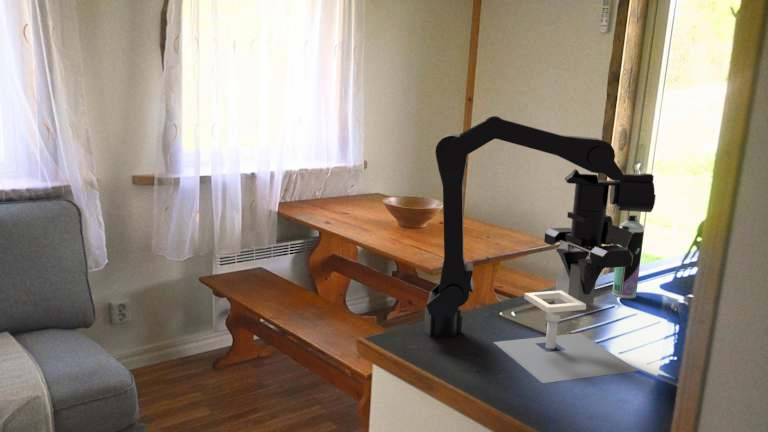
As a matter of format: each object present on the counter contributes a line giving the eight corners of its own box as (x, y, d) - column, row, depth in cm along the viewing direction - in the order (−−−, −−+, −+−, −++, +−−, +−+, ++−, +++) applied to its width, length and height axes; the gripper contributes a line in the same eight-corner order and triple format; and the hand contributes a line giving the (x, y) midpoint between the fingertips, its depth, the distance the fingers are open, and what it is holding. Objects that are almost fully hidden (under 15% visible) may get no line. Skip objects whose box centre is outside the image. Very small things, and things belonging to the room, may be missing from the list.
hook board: (541, 391, 99) (545, 347, 98) (492, 349, 115) (495, 311, 113) (638, 378, 105) (643, 337, 103) (578, 340, 121) (582, 303, 119)
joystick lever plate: (547, 312, 107) (550, 274, 105) (524, 298, 114) (527, 262, 113) (601, 308, 110) (605, 270, 109) (575, 294, 118) (579, 259, 116)
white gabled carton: (554, 303, 142) (558, 262, 140) (564, 296, 147) (568, 256, 145) (569, 307, 140) (573, 265, 138) (579, 299, 145) (583, 259, 143)
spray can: (633, 300, 146) (643, 218, 142) (610, 295, 149) (619, 215, 145) (637, 294, 151) (647, 215, 147) (614, 289, 153) (623, 212, 150)
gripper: (663, 217, 104) (652, 305, 107) (595, 198, 121) (587, 274, 124) (608, 219, 100) (599, 309, 103) (546, 200, 118) (539, 277, 121)
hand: (581, 291), depth 113 cm, fingers closed on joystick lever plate, 3 cm apart
